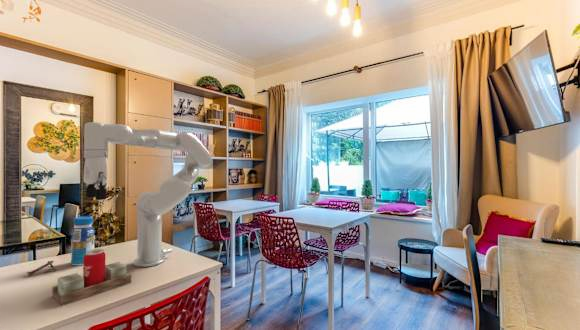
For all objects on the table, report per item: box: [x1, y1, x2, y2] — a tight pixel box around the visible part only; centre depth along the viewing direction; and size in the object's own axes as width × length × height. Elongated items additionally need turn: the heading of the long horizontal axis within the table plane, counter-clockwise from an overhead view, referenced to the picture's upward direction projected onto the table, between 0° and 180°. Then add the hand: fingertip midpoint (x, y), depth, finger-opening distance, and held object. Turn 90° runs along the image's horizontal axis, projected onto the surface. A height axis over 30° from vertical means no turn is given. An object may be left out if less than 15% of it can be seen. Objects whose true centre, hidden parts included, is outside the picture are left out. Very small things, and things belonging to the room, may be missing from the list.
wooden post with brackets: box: [26, 260, 56, 277], centre depth 103 cm, size 2×8×4 cm, turn 134°
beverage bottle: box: [70, 215, 96, 267], centre depth 115 cm, size 8×8×20 cm
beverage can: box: [82, 248, 106, 288], centre depth 92 cm, size 6×6×12 cm
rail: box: [52, 261, 132, 306], centre depth 92 cm, size 20×10×6 cm, turn 145°
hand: (95, 198), depth 102 cm, fingers open, 9 cm apart
